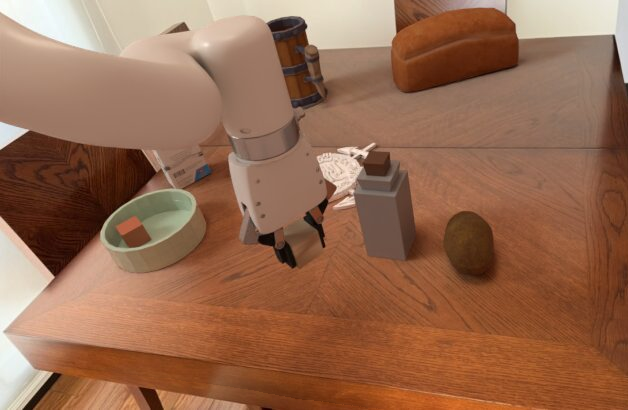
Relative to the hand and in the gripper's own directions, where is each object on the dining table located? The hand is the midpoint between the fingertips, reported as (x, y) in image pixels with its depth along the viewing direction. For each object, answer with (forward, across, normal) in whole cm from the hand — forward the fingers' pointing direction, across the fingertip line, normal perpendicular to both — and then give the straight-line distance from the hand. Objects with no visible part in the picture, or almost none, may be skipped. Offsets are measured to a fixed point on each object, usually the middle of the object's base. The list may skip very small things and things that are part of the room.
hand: (303, 252), depth 67 cm
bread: (+14, -73, -41) cm, 85 cm away
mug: (+14, -40, -64) cm, 77 cm away
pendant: (+14, -21, -30) cm, 39 cm away
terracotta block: (+14, +14, -43) cm, 47 cm away
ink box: (+15, -2, -55) cm, 57 cm away
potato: (+14, -24, +8) cm, 29 cm away
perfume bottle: (+14, -18, -4) cm, 23 cm away
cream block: (0, 0, 0) cm, 0 cm away
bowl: (+14, +11, -40) cm, 44 cm away
